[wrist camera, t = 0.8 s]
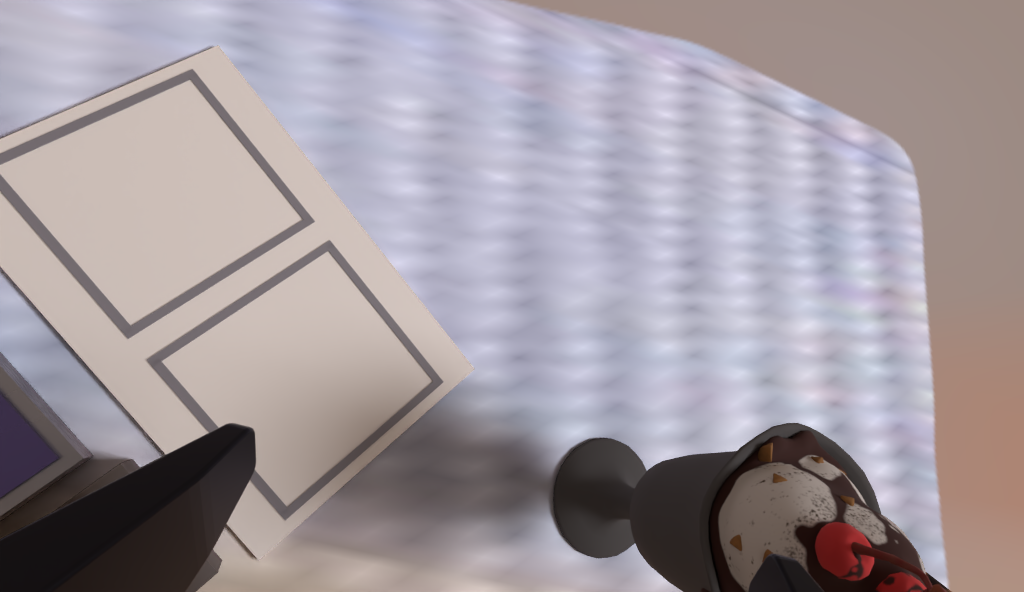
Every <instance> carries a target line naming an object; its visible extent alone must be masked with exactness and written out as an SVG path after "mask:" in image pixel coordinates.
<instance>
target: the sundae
mask: <svg viewBox="0 0 1024 592" xmlns="http://www.w3.org/2000/svg"><path fill="white" fill-rule="evenodd" d="M554 508H555V515H556V518H557V521H558V524H559V527H560V529H561V531H562V533H563V535H564V537H565V538H566V539H567V540H568V541H569V543H570V544H571V545H572V546H573V547H575V548H576V549H577V550H578V551H579V552H581V553H584V554H586V555H588V556H591V557H595V558H608V557H612V556H617V555H619V554H620V553H622V552H624V551H626V550H627V549H628V548H629V547H631V546H632V545H633V544H634V543H635V544H636V546H637V548H638V550H639V552H640V554H641V555H642V556H643V558H644V559H645V560H646V561H647V563H648V564H649V565H650V566H651V567H652V568H653V569H655V570H656V571H657V572H658V573H659V574H660V575H662V576H663V577H664V578H665V579H666V580H667V581H669V582H670V583H671V584H673V585H674V586H676V587H677V588H679V589H680V590H682V591H683V592H748V590H749V585H750V582H751V580H752V579H753V577H754V576H755V574H756V572H757V571H758V569H759V568H760V566H761V565H762V563H763V561H764V560H765V558H766V557H767V556H768V555H770V554H779V555H783V556H787V557H791V558H794V559H796V560H797V561H798V562H799V563H800V564H801V565H802V566H803V567H804V568H805V570H806V571H807V572H808V573H809V574H810V576H811V577H812V578H813V579H814V580H815V581H816V583H817V584H818V585H819V586H820V587H821V588H822V590H823V591H824V592H951V591H950V590H949V589H947V588H946V587H945V586H944V585H942V584H941V583H940V582H938V581H937V580H936V579H934V578H933V577H932V576H931V575H929V574H928V573H927V572H925V568H924V565H923V562H922V560H921V558H920V556H919V554H918V552H917V551H916V549H915V548H914V546H913V545H912V543H911V542H910V540H909V539H908V538H907V536H906V535H905V533H904V532H903V531H902V530H901V529H900V528H899V527H898V526H897V525H896V524H894V523H893V522H892V521H890V520H889V519H888V518H886V517H885V516H883V515H881V511H880V508H879V505H878V502H877V499H876V496H875V493H874V490H873V489H872V487H871V485H870V483H869V481H868V479H867V477H866V475H865V473H864V472H863V470H862V469H861V468H860V467H859V466H858V465H857V463H856V462H855V461H854V460H853V459H852V458H851V457H850V455H848V454H847V453H846V452H845V451H844V450H843V449H842V448H841V447H840V446H839V445H837V444H836V443H835V442H834V441H832V440H831V439H829V438H827V437H826V436H824V435H823V434H821V433H820V432H818V431H816V430H814V429H812V428H810V427H808V426H805V425H802V424H799V423H786V424H782V425H777V426H773V427H771V428H770V429H768V430H766V431H764V432H763V433H761V434H759V435H758V436H756V437H755V438H753V439H752V440H750V441H749V442H748V443H746V444H745V445H743V446H742V447H741V448H740V449H739V450H738V451H734V452H721V453H708V454H695V455H688V456H683V457H679V458H674V459H670V460H666V461H662V462H660V463H658V464H656V465H654V466H653V467H652V468H650V469H649V470H648V471H646V469H645V467H644V464H643V462H642V461H641V459H640V458H639V457H638V456H637V454H636V453H635V452H634V451H633V450H632V449H631V448H630V447H629V446H627V445H625V444H623V443H621V442H619V441H616V440H614V439H608V438H600V439H592V440H590V441H588V442H586V443H584V444H582V445H580V446H579V447H577V448H576V449H574V451H573V452H572V453H571V454H570V455H569V456H568V457H567V459H566V460H565V462H564V463H563V465H562V466H561V469H560V471H559V474H558V477H557V480H556V484H555V488H554Z"/></svg>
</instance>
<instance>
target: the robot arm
mask: <svg viewBox="0 0 1024 592" xmlns="http://www.w3.org/2000/svg"><path fill="white" fill-rule="evenodd" d="M255 466H256V443H255V431H254V429H253V428H251V427H249V426H244V425H240V424H236V423H228V424H225V425H223V426H221V427H219V428H217V429H215V430H213V431H211V432H209V433H207V434H205V435H203V436H202V437H200V438H198V439H196V440H194V441H192V442H190V443H188V444H186V445H184V446H182V447H180V448H178V449H176V450H174V451H172V452H170V453H168V454H166V455H164V456H162V457H160V458H158V459H156V460H154V461H153V462H151V463H149V464H147V465H145V466H143V467H141V468H139V469H137V470H135V471H133V472H131V473H129V474H127V475H125V476H123V477H121V478H119V479H117V480H115V481H113V482H111V483H109V484H107V485H105V486H104V487H102V488H100V489H98V490H96V491H94V492H92V493H90V494H88V495H86V496H84V497H82V498H80V499H78V500H76V501H74V502H72V503H70V504H68V505H66V506H64V507H62V508H60V509H58V510H56V511H55V512H53V513H51V514H49V515H47V516H45V517H43V518H41V519H39V520H37V521H35V522H33V523H31V524H29V525H27V526H25V527H23V528H21V529H19V530H17V531H15V532H13V533H11V534H9V535H7V536H6V537H4V538H2V539H0V592H186V590H187V589H188V587H189V586H190V584H191V583H192V581H193V580H194V578H195V577H196V575H197V574H198V572H199V571H200V569H201V568H202V566H203V565H204V563H205V562H206V560H207V558H208V557H209V555H210V553H211V551H212V550H213V548H214V546H215V544H216V542H217V541H218V539H219V537H220V535H221V533H222V531H223V529H224V528H225V526H226V524H227V522H228V520H229V518H230V516H231V514H232V513H233V511H234V509H235V507H236V505H237V503H238V501H239V499H240V498H241V496H242V494H243V492H244V490H245V488H246V486H247V484H248V483H249V481H250V479H251V477H252V475H253V473H254V470H255ZM748 592H824V591H823V590H822V588H821V587H820V586H819V585H818V584H817V583H816V581H815V580H814V579H813V578H812V577H811V576H810V574H809V573H808V572H807V571H806V570H805V568H804V567H803V566H802V565H801V564H800V563H799V562H798V561H797V560H796V559H794V558H791V557H787V556H783V555H779V554H770V555H768V556H767V557H766V558H765V560H764V561H763V563H762V565H761V566H760V568H759V569H758V571H757V572H756V574H755V576H754V577H753V579H752V580H751V582H750V585H749V590H748Z"/></svg>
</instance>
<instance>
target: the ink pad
mask: <svg viewBox="0 0 1024 592" xmlns="http://www.w3.org/2000/svg"><path fill="white" fill-rule="evenodd" d="M91 457H93V455H92V454H91V453H90V451H89V450H88V449H87V448H86V447H85V446H84V445H83V444H82V443H81V441H80V440H79V439H78V438H77V437H76V436H75V435H74V434H73V433H72V431H71V430H70V429H69V428H68V427H67V426H66V425H65V424H64V422H63V421H62V420H61V419H60V418H59V417H58V416H57V415H56V414H55V412H54V411H53V410H52V409H51V408H50V407H49V406H48V405H47V403H46V402H45V401H44V400H43V399H42V398H41V397H40V396H39V395H38V393H37V392H36V391H35V390H34V389H33V388H32V387H31V386H30V385H29V383H28V382H27V381H26V380H25V379H24V378H23V377H22V376H21V374H20V373H19V372H18V371H17V370H16V369H15V368H14V367H13V366H12V364H11V363H10V362H9V361H8V360H7V359H6V358H5V357H4V356H3V354H2V353H1V352H0V521H1V520H2V519H4V518H5V517H7V516H8V515H10V514H11V513H12V512H14V511H15V510H17V509H18V508H20V507H21V506H22V505H24V504H25V503H27V502H28V501H30V500H31V499H32V498H34V497H35V496H37V495H38V494H40V493H41V492H43V491H44V490H45V489H47V488H48V487H50V486H51V485H53V484H54V483H55V482H57V481H58V480H60V479H61V478H63V477H64V476H65V475H67V474H68V473H70V472H71V471H73V470H74V469H75V468H77V467H78V466H80V465H81V464H83V463H84V462H85V461H87V460H88V459H90V458H91Z"/></svg>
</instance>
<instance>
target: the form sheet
mask: <svg viewBox="0 0 1024 592" xmlns="http://www.w3.org/2000/svg"><path fill="white" fill-rule="evenodd" d="M0 267H1V268H2V269H3V270H4V271H5V272H6V274H7V275H8V276H9V277H10V278H11V279H12V280H13V282H14V283H15V284H16V285H17V286H18V287H19V288H20V289H21V291H22V292H23V293H24V294H25V295H26V296H27V297H28V299H29V300H30V301H31V302H32V303H33V304H34V305H35V307H36V308H37V309H38V310H39V311H40V312H41V313H42V314H43V316H44V317H45V318H46V319H47V320H48V321H49V322H50V324H51V325H52V326H53V327H54V328H55V329H56V330H57V332H58V333H59V334H60V335H61V336H62V337H63V338H64V340H65V341H66V342H67V343H68V344H69V345H70V346H71V347H72V349H73V350H74V351H75V352H76V353H77V354H78V355H79V357H80V358H81V359H82V360H83V361H84V362H85V363H86V365H87V366H88V367H89V368H90V369H91V370H92V371H93V373H94V374H95V375H96V376H97V377H98V378H99V379H100V380H101V382H102V383H103V384H104V385H105V386H106V387H107V388H108V390H109V391H110V392H111V393H112V394H113V395H114V396H115V398H116V399H117V400H118V401H119V402H120V403H121V404H122V406H123V407H124V408H125V409H126V410H127V411H128V412H129V413H130V415H131V416H132V417H133V418H134V419H135V420H136V421H137V423H138V424H139V425H140V426H141V427H142V428H143V429H144V431H145V432H146V433H147V434H148V435H149V436H150V437H151V439H152V440H153V441H154V442H155V443H156V444H157V445H158V446H159V448H160V449H161V450H162V451H163V452H164V453H165V454H168V453H170V452H172V451H174V450H176V449H178V448H180V447H182V446H184V445H186V444H188V443H190V442H192V441H194V440H196V439H198V438H200V437H202V436H203V435H205V434H207V433H209V432H211V431H213V430H215V429H217V428H219V427H221V426H223V425H225V424H228V423H236V424H240V425H244V426H249V427H251V428H253V429H254V431H255V443H256V466H255V470H254V473H253V475H252V477H251V479H250V481H249V483H248V484H247V486H246V488H245V490H244V492H243V494H242V496H241V498H240V499H239V501H238V503H237V505H236V507H235V509H234V511H233V513H232V514H231V516H230V518H229V520H228V522H227V525H228V526H229V527H230V528H231V530H232V531H233V532H234V533H235V534H236V535H237V536H238V537H239V539H240V540H241V541H242V542H243V543H244V544H245V545H246V547H247V548H248V549H249V550H250V551H251V552H252V553H253V555H254V556H255V557H256V558H257V559H258V560H261V559H262V558H263V557H264V556H265V555H266V554H267V553H268V552H270V551H271V550H272V549H273V548H274V547H275V546H276V545H277V544H279V543H280V542H281V541H282V540H283V539H284V538H285V537H286V536H288V535H289V534H290V533H291V532H292V531H293V530H294V529H295V528H297V527H298V526H299V525H300V524H301V523H302V522H303V521H304V520H306V519H307V518H308V517H309V516H310V515H311V514H312V513H313V512H315V511H316V510H317V509H318V508H319V507H320V506H321V505H322V504H324V503H325V502H326V501H327V500H328V499H329V498H330V497H331V496H333V495H334V494H335V493H336V492H337V491H338V490H339V489H340V488H342V487H343V486H344V485H345V484H346V483H347V482H348V481H349V480H351V479H352V478H353V477H354V476H355V475H356V474H357V473H358V472H360V471H361V470H362V469H363V468H364V467H365V466H366V465H367V464H369V463H370V462H371V461H372V460H373V459H374V458H375V457H376V456H378V455H379V454H380V453H381V452H382V451H383V450H384V449H385V448H387V447H388V446H389V445H390V444H391V443H392V442H393V441H394V440H396V439H397V438H398V437H399V436H400V435H401V434H402V433H403V432H405V431H406V430H407V429H408V428H409V427H410V426H411V425H412V424H414V423H415V422H416V421H417V420H418V419H419V418H420V417H421V416H423V415H424V414H425V413H426V412H427V411H428V410H429V409H430V408H432V407H433V406H434V405H435V404H436V403H437V402H438V401H439V400H441V399H442V398H443V397H444V396H445V395H446V394H447V393H448V392H450V391H451V390H452V389H453V388H454V387H455V386H456V385H457V384H459V383H460V382H461V381H462V380H463V379H464V378H465V377H466V376H468V375H469V374H470V373H471V372H472V371H473V370H474V368H473V366H472V365H471V364H470V363H469V361H468V360H467V359H466V358H465V356H464V355H463V354H462V353H461V351H460V350H459V349H458V348H457V346H456V345H455V344H454V342H453V341H452V340H451V339H450V337H449V336H448V335H447V334H446V332H445V331H444V330H443V329H442V327H441V326H440V325H439V324H438V322H437V321H436V320H435V318H434V317H433V316H432V315H431V313H430V312H429V311H428V310H427V308H426V307H425V306H424V305H423V303H422V302H421V301H420V300H419V298H418V297H417V296H416V294H415V293H414V292H413V291H412V289H411V288H410V287H409V286H408V284H407V283H406V282H405V281H404V279H403V278H402V277H401V276H400V274H399V273H398V272H397V270H396V269H395V268H394V267H393V265H392V264H391V263H390V262H389V260H388V259H387V258H386V257H385V255H384V254H383V253H382V252H381V250H380V249H379V248H378V247H377V245H376V244H375V243H374V241H373V240H372V239H371V238H370V236H369V235H368V234H367V233H366V231H365V230H364V229H363V228H362V226H361V225H360V224H359V223H358V221H357V220H356V219H355V217H354V216H353V215H352V214H351V212H350V211H349V210H348V209H347V207H346V206H345V205H344V204H343V202H342V201H341V200H340V199H339V197H338V196H337V195H336V193H335V192H334V191H333V190H332V188H331V187H330V186H329V185H328V183H327V182H326V181H325V180H324V178H323V177H322V176H321V175H320V173H319V172H318V171H317V169H316V168H315V167H314V166H313V164H312V163H311V162H310V161H309V159H308V158H307V157H306V156H305V154H304V153H303V152H302V151H301V149H300V148H299V147H298V146H297V144H296V143H295V142H294V140H293V139H292V138H291V137H290V135H289V134H288V133H287V132H286V130H285V129H284V128H283V127H282V125H281V124H280V123H279V122H278V120H277V119H276V118H275V116H274V115H273V114H272V113H271V111H270V110H269V109H268V108H267V106H266V105H265V104H264V103H263V101H262V100H261V99H260V98H259V96H258V95H257V94H256V92H255V91H254V90H253V89H252V87H251V86H250V85H249V84H248V82H247V81H246V80H245V79H244V77H243V76H242V75H241V74H240V72H239V71H238V70H237V69H236V67H235V66H234V65H233V63H232V62H231V61H230V60H229V58H228V57H227V56H226V55H225V53H224V52H223V51H222V50H221V48H220V47H219V46H215V47H213V48H211V49H208V50H206V51H204V52H201V53H199V54H197V55H194V56H192V57H190V58H187V59H185V60H183V61H180V62H178V63H176V64H173V65H171V66H169V67H166V68H164V69H162V70H159V71H157V72H155V73H152V74H150V75H148V76H146V77H143V78H141V79H139V80H136V81H134V82H132V83H129V84H127V85H125V86H122V87H120V88H118V89H115V90H113V91H111V92H108V93H106V94H104V95H101V96H99V97H97V98H94V99H92V100H90V101H87V102H85V103H83V104H80V105H78V106H76V107H73V108H71V109H69V110H66V111H64V112H62V113H60V114H57V115H55V116H53V117H50V118H48V119H46V120H43V121H41V122H39V123H36V124H34V125H32V126H29V127H27V128H25V129H22V130H20V131H18V132H15V133H13V134H11V135H8V136H6V137H4V138H1V139H0Z"/></svg>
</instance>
